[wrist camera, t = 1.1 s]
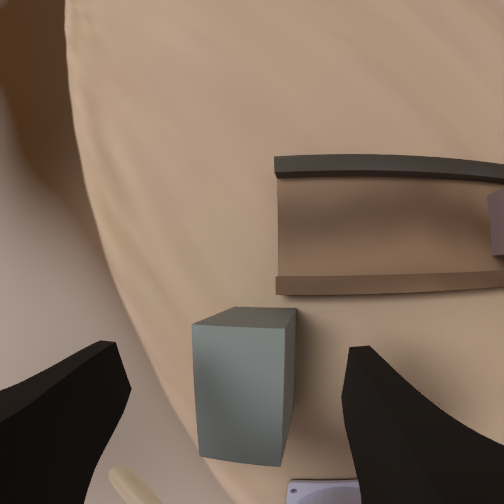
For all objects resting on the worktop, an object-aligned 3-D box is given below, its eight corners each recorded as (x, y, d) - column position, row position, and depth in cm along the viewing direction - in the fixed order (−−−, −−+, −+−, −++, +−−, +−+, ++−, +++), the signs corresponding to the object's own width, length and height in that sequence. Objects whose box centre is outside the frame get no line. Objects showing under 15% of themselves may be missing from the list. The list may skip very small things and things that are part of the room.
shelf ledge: (548, 279, 14) (564, 280, 12) (280, 292, 19) (275, 294, 17) (539, 177, 15) (553, 170, 13) (278, 165, 19) (274, 153, 17)
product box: (296, 307, 19) (285, 328, 12) (293, 408, 18) (280, 466, 11) (231, 306, 20) (187, 323, 13) (232, 403, 19) (196, 455, 12)
